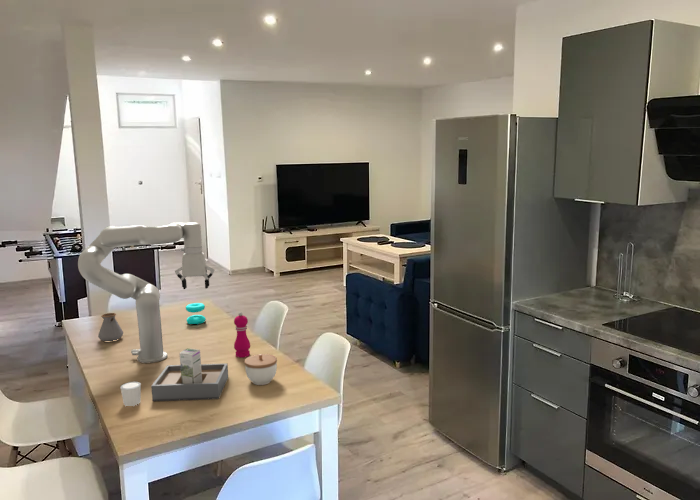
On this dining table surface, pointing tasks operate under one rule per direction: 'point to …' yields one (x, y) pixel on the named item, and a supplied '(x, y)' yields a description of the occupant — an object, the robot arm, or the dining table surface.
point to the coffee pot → (110, 328)
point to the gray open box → (174, 390)
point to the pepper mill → (241, 337)
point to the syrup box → (190, 366)
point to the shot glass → (131, 393)
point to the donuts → (194, 308)
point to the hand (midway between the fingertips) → (195, 288)
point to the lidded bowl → (261, 368)
